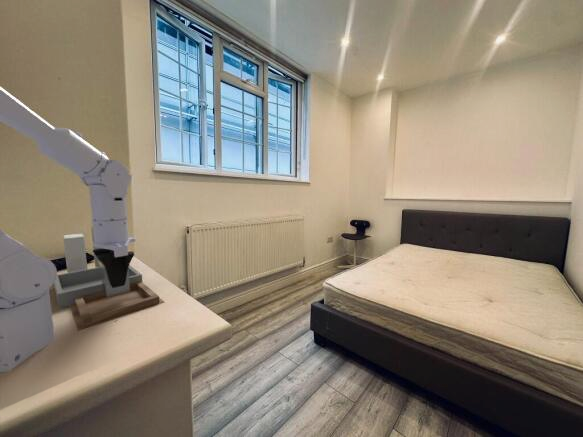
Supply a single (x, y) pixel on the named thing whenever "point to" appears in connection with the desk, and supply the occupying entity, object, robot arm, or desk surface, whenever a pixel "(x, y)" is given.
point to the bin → (83, 284)
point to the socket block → (112, 305)
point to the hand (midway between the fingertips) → (115, 283)
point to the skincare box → (75, 252)
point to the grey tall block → (107, 286)
